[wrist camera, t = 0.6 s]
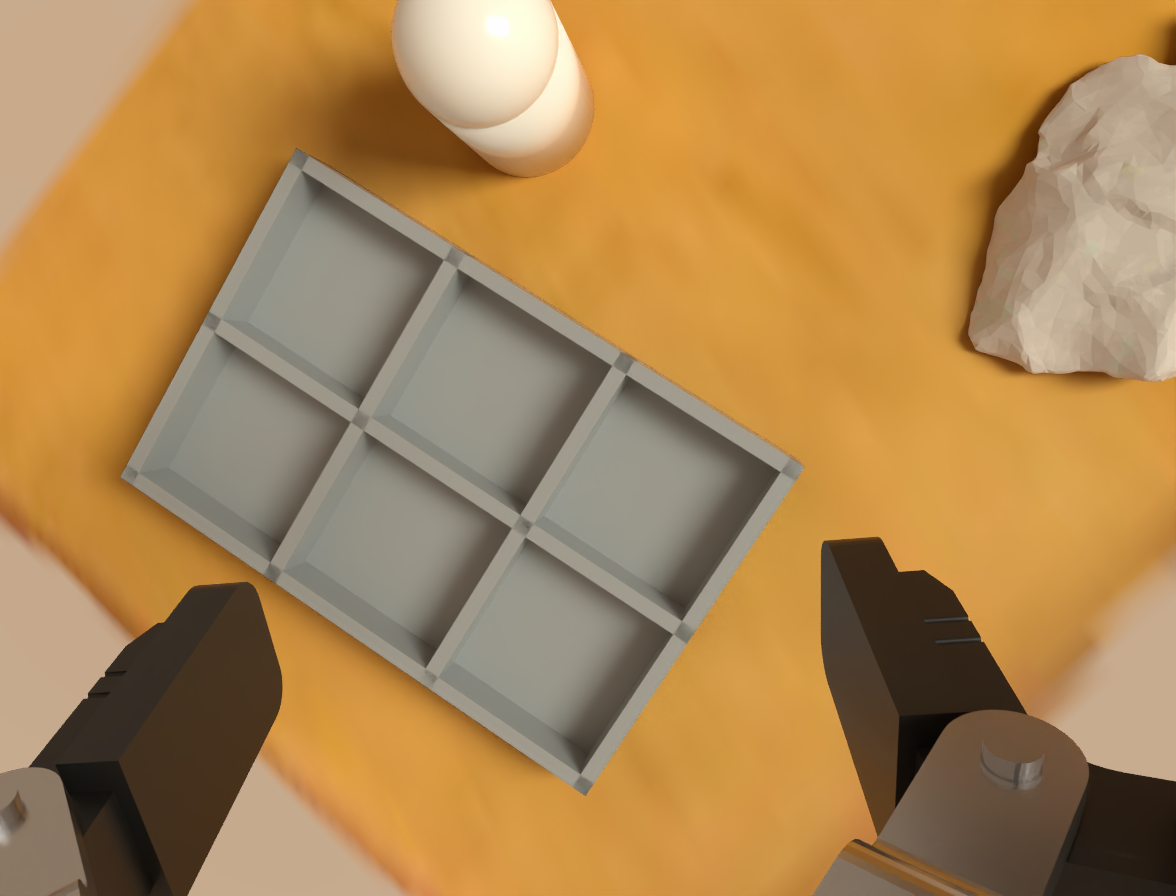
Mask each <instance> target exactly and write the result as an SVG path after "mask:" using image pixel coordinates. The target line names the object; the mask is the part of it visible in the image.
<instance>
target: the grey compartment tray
mask: <svg viewBox="0 0 1176 896" xmlns="http://www.w3.org/2000/svg"><path fill="white" fill-rule="evenodd" d="M803 469H804V466H803V465H802V463H801V462H800V461H799V460H797V459H796V458H794V457H793V456H791V455H789V454H788V453H786V452H785V451H783V450H781V449H780V448H778V447H777V446H775V445H774V444H772V443H770V442H769V441H767V440H766V439H764V438H762V437H761V436H759V435H758V434H756V433H754V432H753V431H751V430H750V429H748V428H746V427H745V426H743V425H742V424H740V423H738V422H737V421H735V420H734V419H732V418H730V417H729V416H727V415H726V414H724V413H723V412H721V411H719V410H718V409H716V408H715V407H713V406H711V405H710V404H708V403H707V402H705V401H703V400H702V399H700V398H699V397H697V396H695V395H694V394H692V393H691V392H689V391H687V390H686V389H684V388H683V387H681V386H679V385H678V384H676V383H675V382H673V381H672V380H670V379H668V378H667V377H665V376H664V375H662V374H660V373H659V372H657V371H656V370H654V369H652V368H651V367H649V366H648V365H646V364H644V363H643V362H641V361H640V360H638V359H636V358H635V357H633V356H632V355H630V354H628V353H627V352H625V351H624V350H622V349H621V348H619V347H617V346H616V345H614V344H613V343H611V342H609V341H608V340H606V339H605V338H603V337H601V336H600V335H598V334H597V333H595V332H593V331H592V330H590V329H589V328H587V327H585V326H584V325H582V324H581V323H579V322H577V321H576V320H574V319H573V318H571V317H570V316H568V315H566V314H565V313H563V312H562V311H560V310H558V309H557V308H555V307H554V306H552V305H550V304H549V303H547V302H546V301H544V300H542V299H541V298H539V297H538V296H536V295H534V294H533V293H531V292H530V291H528V290H526V289H525V288H523V287H522V286H520V285H519V284H517V283H515V282H514V281H512V280H511V279H509V278H507V277H506V276H504V275H503V274H501V273H499V272H498V271H496V270H495V269H493V268H491V267H490V266H488V265H487V264H485V263H483V262H482V261H480V260H479V259H477V258H475V257H474V256H472V255H471V254H469V253H468V252H466V251H464V250H463V249H461V248H460V247H458V246H456V245H455V244H453V243H452V242H450V241H448V240H447V239H445V238H444V237H442V236H440V235H439V234H437V233H436V232H434V231H432V230H431V229H429V228H428V227H426V226H424V225H423V224H421V223H420V222H418V221H416V220H415V219H413V218H412V217H410V216H409V215H407V214H405V213H404V212H402V211H401V210H399V209H397V208H396V207H394V206H393V205H391V204H389V203H388V202H386V201H385V200H383V199H381V198H380V197H378V196H377V195H375V194H373V193H372V192H370V191H369V190H367V189H365V188H364V187H362V186H361V185H359V184H358V183H356V182H354V181H353V180H351V179H350V178H348V177H346V176H345V175H343V174H342V173H340V172H338V171H337V170H335V169H334V168H332V167H330V166H329V165H327V164H325V163H324V162H322V161H320V160H318V159H316V158H314V157H312V156H310V155H308V154H306V153H305V152H303V151H301V150H299V149H297V148H296V150H295V152H294V154H293V156H292V157H291V159H290V161H289V163H288V165H287V167H286V169H285V170H284V172H283V174H282V176H281V178H280V180H279V182H278V184H277V185H276V187H275V189H274V191H273V193H272V195H271V197H270V198H269V200H268V202H267V204H266V206H265V208H264V210H263V212H262V213H261V215H260V217H259V219H258V221H257V223H256V225H255V227H254V228H253V230H252V232H251V234H250V236H249V238H248V240H247V241H246V243H245V245H244V247H243V249H242V251H241V253H240V255H239V256H238V258H237V260H236V262H235V264H234V266H233V268H232V269H231V271H230V273H229V275H228V277H227V279H226V281H225V283H224V284H223V286H222V288H221V290H220V292H219V294H218V296H217V298H216V299H215V301H214V303H213V305H212V307H211V309H210V311H209V312H208V314H207V316H206V318H205V320H204V322H203V324H202V326H201V327H200V329H199V331H198V333H197V335H196V337H195V339H194V340H193V342H192V344H191V346H190V348H189V350H188V352H187V354H186V355H185V357H184V359H183V361H182V363H181V365H180V367H179V368H178V370H177V372H176V374H175V376H174V378H173V380H172V382H171V383H170V385H169V387H168V389H167V391H166V393H165V395H164V397H163V398H162V400H161V402H160V404H159V406H158V408H157V410H156V411H155V413H154V415H153V417H152V419H151V421H150V423H149V425H148V426H147V428H146V430H145V432H144V434H143V436H142V438H141V439H140V441H139V443H138V445H137V447H136V449H135V451H134V453H133V454H132V456H131V458H130V460H129V462H128V464H127V466H126V468H125V469H124V471H123V473H122V475H121V478H122V479H124V480H125V481H127V482H128V483H130V484H131V485H133V486H134V487H136V488H137V489H138V490H140V491H141V492H143V493H144V494H146V495H147V496H149V497H150V498H152V499H153V500H155V501H156V502H157V503H159V504H160V505H162V506H163V507H165V508H166V509H168V510H169V511H171V512H172V513H173V514H175V515H176V516H178V517H179V518H181V519H182V520H184V521H185V522H187V523H188V524H190V525H191V526H192V527H194V528H195V529H197V530H198V531H200V532H201V533H203V534H204V535H206V536H207V537H208V538H210V539H211V540H213V541H214V542H216V543H217V544H219V545H220V546H222V547H223V548H225V549H226V550H227V551H229V552H230V553H232V554H233V555H235V556H236V557H238V558H239V559H241V560H242V561H243V562H245V563H246V564H248V565H249V566H251V567H252V568H254V569H255V570H257V571H258V572H260V573H261V574H262V575H264V576H265V577H267V578H268V579H270V580H271V581H273V582H274V583H276V584H277V585H278V586H280V587H281V588H283V589H284V590H286V591H287V592H289V593H290V594H292V595H293V596H295V597H296V598H297V599H299V600H300V601H302V602H303V603H305V604H306V605H308V606H309V607H311V608H312V609H313V610H315V611H316V612H318V613H319V614H321V615H322V616H324V617H325V618H327V619H328V620H330V621H331V622H332V623H334V624H335V625H337V626H338V627H340V628H341V629H343V630H344V631H346V632H347V633H348V634H350V635H351V636H353V637H354V638H356V639H357V640H359V641H360V642H362V643H363V644H365V645H366V646H367V647H369V648H370V649H372V650H373V651H375V652H376V653H378V654H379V655H381V656H382V657H383V658H385V659H386V660H388V661H389V662H391V663H392V664H394V665H395V666H397V667H398V668H400V669H401V670H402V671H404V672H405V673H407V674H408V675H410V676H411V677H413V678H414V679H416V680H417V681H418V682H420V683H421V684H423V685H424V686H426V687H427V688H429V689H430V690H432V691H433V692H435V693H436V694H437V695H439V696H440V697H442V698H443V699H445V700H446V701H448V702H449V703H451V704H452V705H453V706H455V707H456V708H458V709H459V710H461V711H462V712H464V713H465V714H467V715H468V716H470V717H471V718H472V719H474V720H475V721H477V722H478V723H480V724H481V725H483V726H484V727H486V728H487V729H488V730H490V731H491V732H493V733H494V734H496V735H497V736H499V737H500V738H502V739H503V740H505V741H506V742H507V743H509V744H510V745H512V746H513V747H515V748H516V749H518V750H519V751H521V752H522V753H523V754H525V755H526V756H528V757H529V758H531V759H532V760H534V761H535V762H537V763H538V764H540V765H541V766H542V767H544V768H545V769H547V770H548V771H550V772H551V773H553V774H554V775H556V776H557V777H558V778H560V779H561V780H563V781H564V782H566V783H567V784H569V785H570V786H572V787H573V788H575V789H576V790H577V791H579V792H580V793H582V794H583V795H585V796H586V794H587V793H588V791H589V790H590V788H591V787H592V785H593V784H594V782H595V781H596V779H597V778H598V776H599V775H600V773H601V772H602V770H603V769H604V767H605V766H606V764H607V763H608V761H609V760H610V758H611V757H612V755H613V754H614V752H615V751H616V749H617V748H618V746H619V745H620V743H621V742H622V740H623V739H624V737H625V736H626V734H627V733H628V731H629V730H630V728H631V727H632V725H633V724H634V722H635V721H636V719H637V718H638V716H639V715H640V713H641V712H642V710H643V709H644V707H645V706H646V704H647V703H648V701H649V700H650V698H651V697H652V695H653V694H654V692H655V691H656V689H657V688H658V686H659V685H660V683H661V682H662V680H663V679H664V677H665V676H666V674H667V673H668V671H669V670H670V668H671V667H672V665H673V664H674V662H675V661H676V659H677V658H678V656H679V655H680V653H681V652H682V650H683V649H684V647H685V646H686V644H687V643H688V641H689V640H690V638H691V637H692V635H693V634H694V632H695V631H696V629H697V628H698V626H699V625H700V623H701V622H702V620H703V619H704V617H705V616H706V614H707V613H708V611H709V610H710V608H711V607H712V605H713V604H714V602H715V601H716V599H717V598H718V596H719V595H720V593H721V592H722V590H723V589H724V587H725V586H726V584H727V583H728V581H729V580H730V578H731V577H732V575H733V574H734V572H735V571H736V569H737V568H738V566H739V565H740V563H741V562H742V560H743V559H744V557H745V556H746V554H747V553H748V551H749V550H750V548H751V547H752V545H753V544H754V542H755V541H756V539H757V538H758V536H759V535H760V533H761V532H762V530H763V529H764V527H765V526H766V524H767V523H768V521H769V520H770V518H771V517H772V515H773V514H774V512H775V511H776V509H777V508H778V506H779V505H780V503H781V502H782V500H783V499H784V497H785V496H786V494H787V493H788V491H789V490H790V488H791V487H792V485H793V484H794V482H795V481H796V479H797V478H798V476H799V475H800V473H801V472H802V470H803Z"/></svg>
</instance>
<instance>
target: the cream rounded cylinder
mask: <svg viewBox="0 0 1176 896" xmlns="http://www.w3.org/2000/svg"><path fill="white" fill-rule="evenodd" d="M391 32H392V46H393V52H394V58H395V61H396V64H397V67H398V70H399V72H400V74H401V76H402V79H403V81H404V83H405V84H406V86H407V88H408V89H409V91H410V92H411V93H412V94H413V96H414V97H415V98H416V99H417V100H418V102H419V103H420V104H421V105H422V106H424V107H425V108H426V109H427V110H428V111H429V112H430V113H431V114H432V115H434V116H435V117H436V118H437V119H438V120H439V121H440V122H442V123H443V124H444V125H445V126H446V127H447V128H448V129H450V130H451V131H452V132H453V133H454V134H455V135H457V136H458V137H459V138H460V139H461V140H462V141H463V142H465V143H466V144H467V145H468V146H469V147H470V148H471V149H473V150H474V151H475V152H476V153H477V154H478V155H479V156H481V157H482V158H483V159H484V160H485V161H486V162H487V163H489V164H490V165H491V166H493V167H494V168H496V169H498V170H499V171H501V172H503V173H506V174H509V175H513V176H517V177H537V176H542V175H546V174H548V173H551V172H553V171H555V170H557V169H559V168H561V167H562V166H564V165H565V164H567V163H568V162H569V161H570V160H571V159H572V158H574V156H575V155H576V154H577V153H578V152H579V151H580V149H581V148H582V146H583V145H584V143H585V141H586V139H587V137H588V135H589V133H590V130H591V127H592V123H593V118H594V96H593V90H592V87H591V84H590V81H589V79H588V77H587V74H586V72H585V70H584V68H583V66H582V64H581V62H580V60H579V58H578V56H577V54H576V52H575V50H574V48H573V46H572V44H571V42H570V40H569V38H568V36H567V34H566V32H565V30H564V28H563V26H562V23H561V21H560V19H559V17H558V15H557V13H556V11H555V9H554V7H553V5H552V3H551V1H550V0H397V3H396V7H395V10H394V15H393V20H392V31H391Z"/></svg>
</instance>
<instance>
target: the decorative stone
mask: <svg viewBox="0 0 1176 896" xmlns="http://www.w3.org/2000/svg"><path fill="white" fill-rule="evenodd" d="M1125 120H1126V121H1125ZM1038 134H1039V136H1040V138H1039V144H1038V154H1037V156H1036V158H1035V159H1034V160H1033V161H1031V162H1030V163H1028V164H1026V168H1025V172H1024V174H1023V177H1022V178H1021V180H1020V181H1019V182H1018V184H1017V185H1016V186H1015V188H1014V189H1013V191H1012V192H1011V193H1010V194H1009V195H1008V197H1007V198H1006V199H1005V200H1004V201H1003V203H1002V204H1001V205H1000V206H999V207H998V210H997V212H996V215H995V218H994V228H993V233H992V236H991V240H990V243H989V246H988V249H987V256H986V267H985V271H984V273H983V280H982V283H981V285H980V286H979V288H978V290H977V291H978V293H977V297H976V301H975V305H974V309H973V311H972V313H971V317H970V325H969V330H968V336H969V337H970V340H971V341H972V343H973V345H974V348H975V349H976V350H977V351H979V352H983V353H986V354H989V355H993V356H997V357H1000V358H1003V359H1006V360H1009V361H1012V362H1015V363H1017V364H1019V365H1021V366H1022V367H1023V368H1024V369H1025V370H1026V371H1027V372H1030V373H1032V374H1037V373H1053V374H1064V373H1071V372H1077V371H1097V372H1105V373H1106V374H1108V375H1110V376H1112V377H1115V378H1128V379H1135V380H1141V381H1147V382H1161V381H1163V380H1166V379H1169V378H1171V377H1174V376H1176V65H1166V64H1163V63H1158V62H1157V61H1156V60H1154V59H1153V58H1151V57H1149V56H1146V55H1143V54H1139V55H1135V56H1130V57H1120V58H1117V59H1115V60H1113V61H1111V62H1109V63H1104V64H1103V65H1101V66H1099V67H1098V68H1096V69H1095V70H1093V71H1091V72H1088V73H1087V74H1086V75H1084V76H1083V77H1082V78H1080V79H1079V80H1078V81H1076V82H1074V83H1072V84H1070V86H1069V88H1068V90H1067V91H1066V93H1065V95H1064V96H1063V97H1062V99H1061V100H1060V101H1059V103H1058V104H1057V105H1056V106H1055V107H1054V108H1053V110H1052V111H1051V112H1050V113H1049V115H1048V116H1047V117H1046V119H1045V120H1044V122H1043V124H1042V125H1041V127H1040V129H1039V131H1038Z"/></svg>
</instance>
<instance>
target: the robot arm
mask: <svg viewBox="0 0 1176 896" xmlns="http://www.w3.org/2000/svg"><path fill="white" fill-rule="evenodd" d="M821 645H822V655H823V663H824V668H825V673H826V678H827V681H828V685H829V688H830V691H831V694H832V697H833V700H834V703H835V706H836V709H837V712H838V716H839V719H840V722H841V725H842V728H843V731H844V734H845V737H846V740H847V743H848V746H849V749H850V753H851V756H852V759H853V762H854V765H855V768H856V771H857V774H858V777H859V780H860V783H861V786H862V790H863V793H864V796H865V799H866V802H867V805H868V808H869V811H870V814H871V817H872V820H873V823H874V827H875V830H876V833H877V836H878V838H877V840H876V841H875V842H874V844H873V845H872V846H871V845H869V844H867V843H865V842H863V841H861V840H859V839H855V840H852V841H851V842H849V843H848V844H847V845H846V846H845V847H844V848H843V850H842V851H841V852H840V854H839V855H838V857H837V858H836V860H835V861H834V863H833V864H832V866H831V867H830V869H829V871H828V872H827V874H826V875H825V877H824V878H823V880H822V881H821V883H820V885H819V886H818V888H817V889H816V891H815V892H814V894H813V895H812V896H1176V782H1175V781H1169V780H1163V779H1158V778H1152V777H1146V776H1141V775H1134V774H1129V773H1123V772H1118V771H1114V770H1110V769H1106V768H1103V767H1100V766H1096V765H1093V764H1091V763H1088V762H1087V761H1086V758H1085V756H1084V755H1083V753H1082V751H1081V750H1080V748H1079V747H1078V746H1077V745H1076V743H1075V742H1074V741H1073V740H1072V739H1070V738H1069V737H1068V736H1067V735H1066V734H1065V733H1063V732H1062V731H1060V730H1059V729H1057V728H1056V727H1054V726H1052V725H1051V724H1049V723H1047V722H1045V721H1043V720H1040V719H1038V718H1035V717H1033V716H1029V715H1027V713H1026V711H1025V710H1024V708H1023V706H1022V705H1021V703H1020V701H1019V700H1018V698H1017V696H1016V695H1015V693H1014V691H1013V690H1012V688H1011V686H1010V685H1009V683H1008V681H1007V680H1006V678H1005V676H1004V675H1003V673H1002V671H1001V670H1000V668H999V666H998V665H997V663H996V661H995V660H994V658H993V657H992V655H991V653H990V652H989V650H988V648H987V647H986V645H985V643H984V642H981V637H980V635H979V633H978V632H977V630H976V628H975V627H974V625H973V623H972V622H971V621H969V620H968V615H967V613H966V612H965V610H964V608H963V607H962V605H961V603H960V602H959V600H958V598H957V597H956V595H955V593H954V592H953V591H952V590H951V589H950V588H948V587H947V586H945V585H944V584H943V583H941V582H940V581H938V580H937V579H936V578H934V577H933V576H931V575H930V574H929V573H927V572H926V571H924V570H920V571H906V572H898V570H897V568H896V566H895V564H894V562H893V560H892V558H891V556H890V555H889V553H888V551H887V549H886V547H885V545H884V543H883V541H882V540H881V539H880V537H869V538H856V539H842V540H828V541H824V542H823V544H822V550H821ZM281 699H282V675H281V670H280V666H279V663H278V659H277V656H276V653H275V649H274V646H273V642H272V639H271V636H270V632H269V629H268V626H267V622H266V619H265V615H264V612H263V609H262V605H261V602H260V599H259V596H258V593H257V591H256V589H255V588H254V586H253V585H252V584H250V583H248V582H239V583H226V584H212V585H199V586H194V587H192V588H191V589H190V590H189V591H188V592H187V594H186V595H185V596H184V597H183V599H182V600H181V601H180V603H179V604H178V605H177V607H176V608H175V609H174V610H173V612H172V613H171V614H170V616H169V617H168V618H167V620H166V621H165V622H164V623H157V624H156V625H154V626H153V627H152V628H150V629H149V630H148V631H146V632H145V633H143V634H142V635H141V636H139V637H138V638H137V639H135V640H134V641H132V642H131V643H130V644H128V645H127V646H126V647H125V648H124V649H123V650H122V652H121V653H120V654H119V655H118V657H117V658H116V659H115V661H114V662H113V663H112V664H111V665H110V667H109V668H108V669H107V670H106V672H105V677H101V678H100V679H99V680H98V682H97V683H96V684H95V685H94V687H93V688H92V689H91V690H90V691H89V693H88V699H83V700H82V701H81V703H80V704H79V705H78V706H77V708H76V709H75V710H74V711H73V713H72V714H71V715H70V717H69V718H68V719H67V720H66V721H65V723H64V724H63V725H62V727H61V728H60V729H59V730H58V731H57V733H56V734H55V735H54V736H53V738H52V739H51V740H50V741H49V743H48V744H47V745H46V746H45V748H44V749H43V750H42V751H41V753H40V754H39V755H38V756H37V758H36V759H35V760H34V761H33V762H32V764H31V765H30V766H29V767H28V768H22V769H17V770H12V771H8V772H5V773H2V774H0V896H187V895H188V893H189V891H190V889H191V887H192V885H193V883H194V881H195V879H196V877H197V875H198V873H199V871H200V869H201V867H202V865H203V863H204V861H205V859H206V857H207V855H208V853H209V851H210V849H211V847H212V845H213V843H214V841H215V839H216V837H217V835H218V833H219V831H220V829H221V827H222V825H223V823H224V821H225V819H226V817H227V815H228V813H229V811H230V809H231V807H232V805H233V803H234V801H235V799H236V797H237V795H238V793H239V791H240V789H241V787H242V785H243V783H244V781H245V779H246V777H247V775H248V773H249V771H250V769H251V767H252V765H253V763H254V761H255V759H256V757H257V755H258V753H259V751H260V749H261V747H262V745H263V743H264V741H265V739H266V737H267V735H268V733H269V731H270V729H271V727H272V725H273V723H274V721H275V719H276V717H277V714H278V712H279V709H280V705H281Z"/></svg>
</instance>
